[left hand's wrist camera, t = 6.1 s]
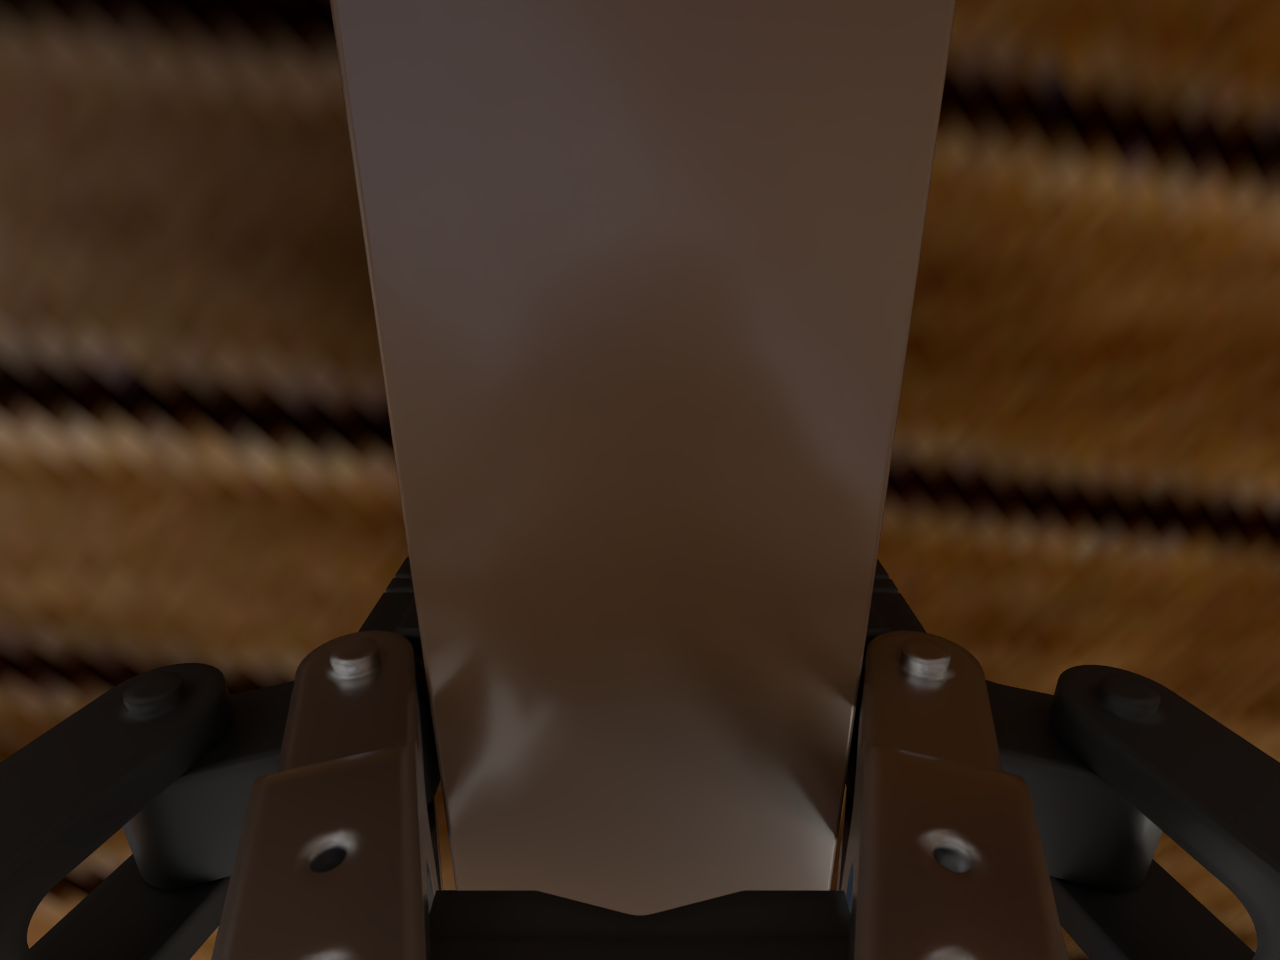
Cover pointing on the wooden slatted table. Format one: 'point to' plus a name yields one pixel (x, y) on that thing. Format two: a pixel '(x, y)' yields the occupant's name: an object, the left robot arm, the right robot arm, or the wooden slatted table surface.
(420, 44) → the beam
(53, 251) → the wooden slatted table surface
